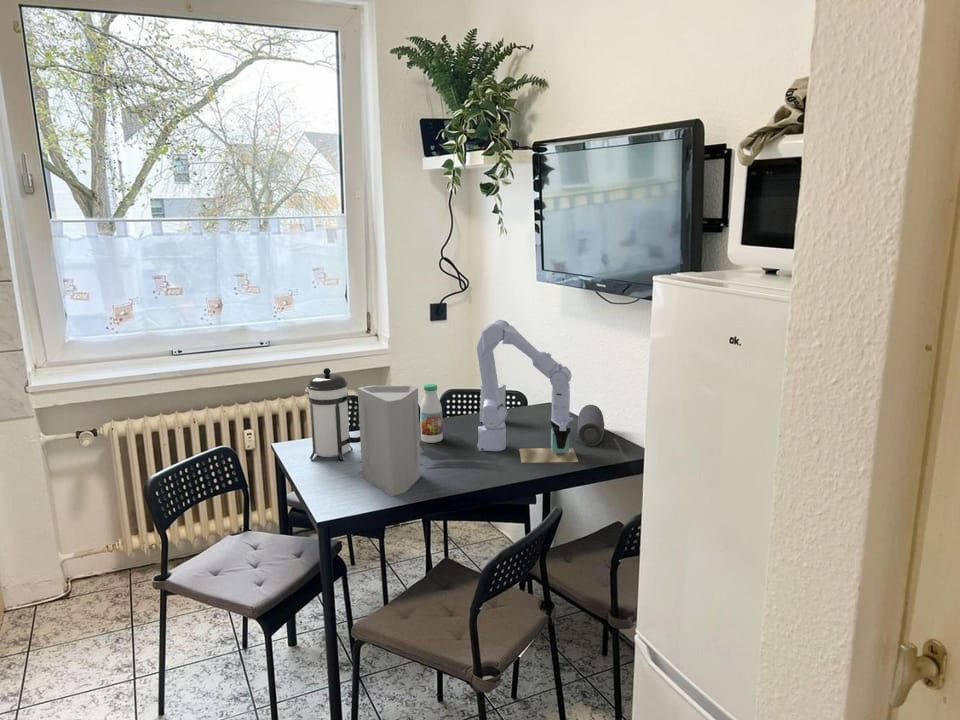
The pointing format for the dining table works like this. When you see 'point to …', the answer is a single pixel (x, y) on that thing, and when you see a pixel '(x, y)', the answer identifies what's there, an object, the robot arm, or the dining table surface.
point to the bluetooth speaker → (590, 425)
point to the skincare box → (502, 394)
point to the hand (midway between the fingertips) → (560, 445)
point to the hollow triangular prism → (389, 436)
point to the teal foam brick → (554, 443)
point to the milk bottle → (431, 415)
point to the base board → (546, 455)
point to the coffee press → (330, 415)
